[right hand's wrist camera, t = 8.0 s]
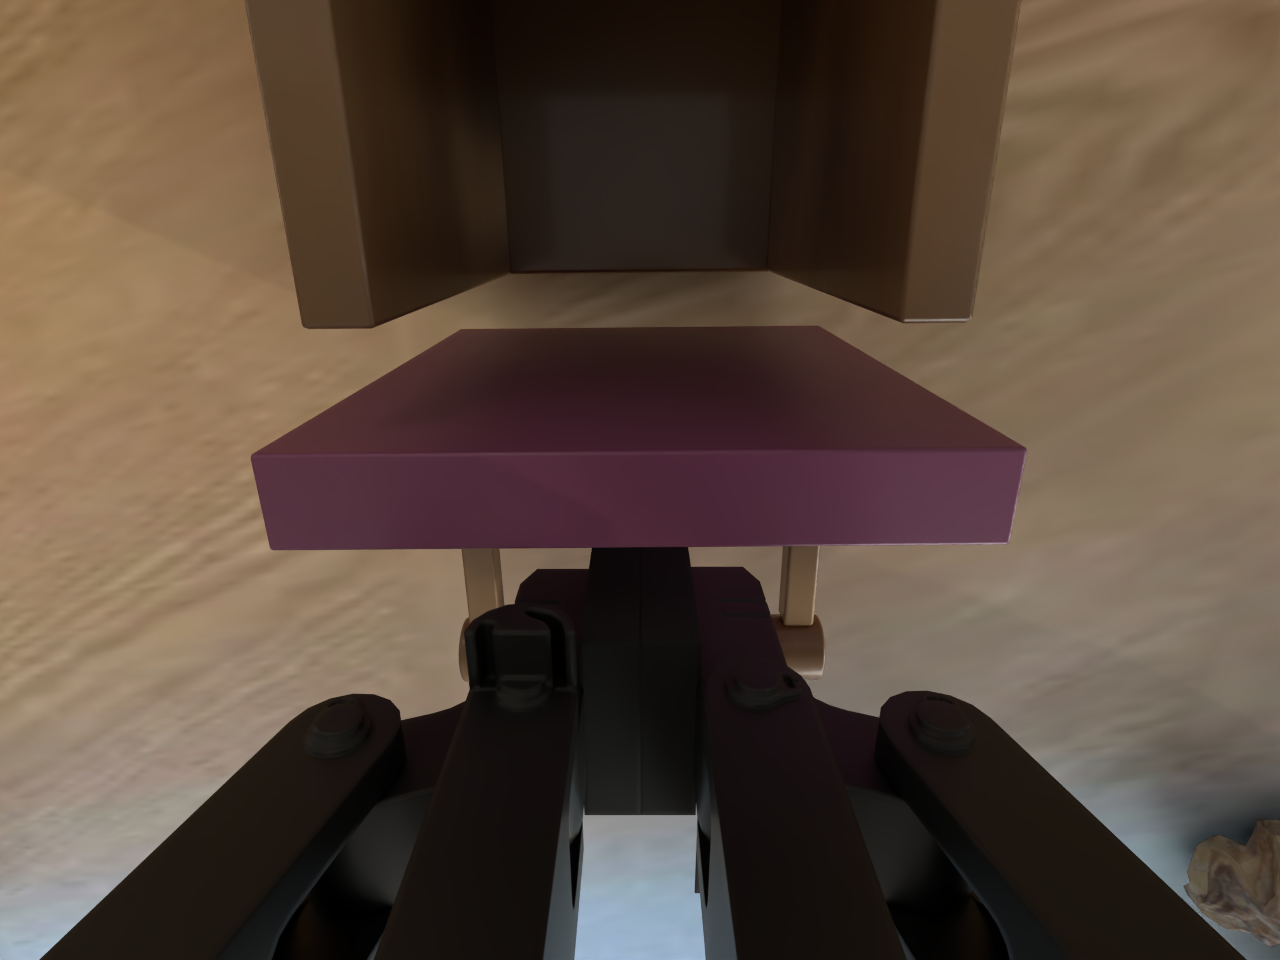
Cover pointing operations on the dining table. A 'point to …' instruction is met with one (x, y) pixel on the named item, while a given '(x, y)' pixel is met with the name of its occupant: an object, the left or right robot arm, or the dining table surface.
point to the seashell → (1240, 881)
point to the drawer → (636, 243)
